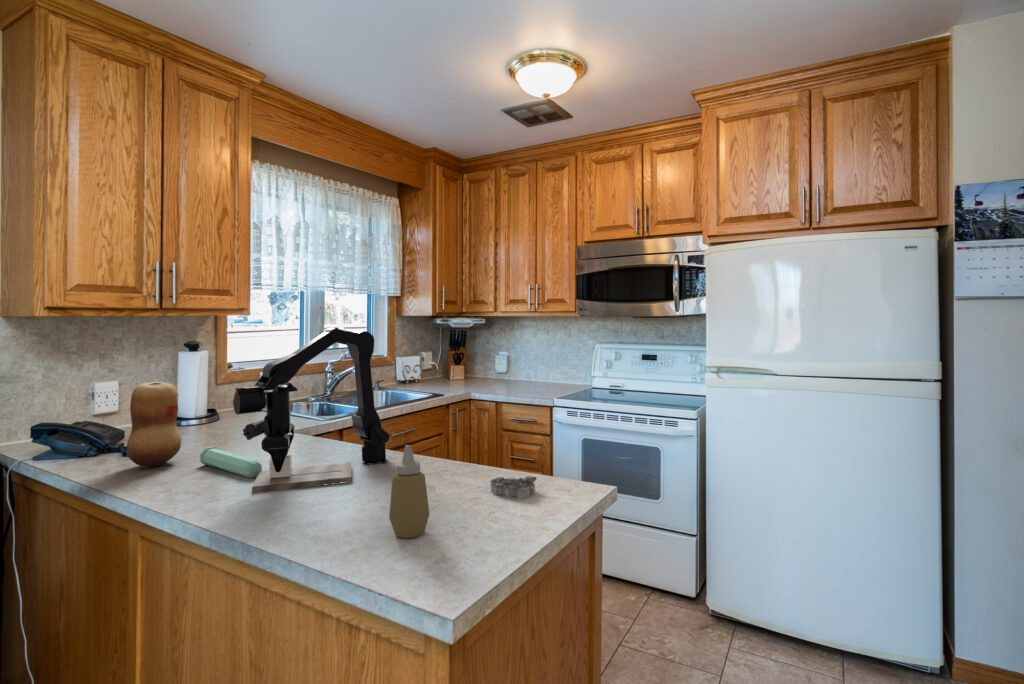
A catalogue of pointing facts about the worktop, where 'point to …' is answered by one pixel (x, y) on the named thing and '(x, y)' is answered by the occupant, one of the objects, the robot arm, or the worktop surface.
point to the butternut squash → (153, 424)
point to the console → (304, 477)
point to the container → (230, 462)
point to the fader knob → (285, 470)
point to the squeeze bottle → (408, 498)
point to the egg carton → (513, 486)
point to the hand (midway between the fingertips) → (280, 467)
